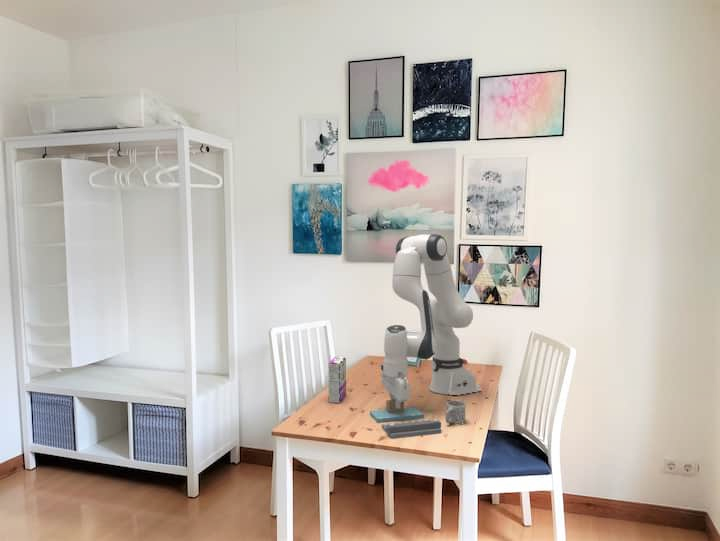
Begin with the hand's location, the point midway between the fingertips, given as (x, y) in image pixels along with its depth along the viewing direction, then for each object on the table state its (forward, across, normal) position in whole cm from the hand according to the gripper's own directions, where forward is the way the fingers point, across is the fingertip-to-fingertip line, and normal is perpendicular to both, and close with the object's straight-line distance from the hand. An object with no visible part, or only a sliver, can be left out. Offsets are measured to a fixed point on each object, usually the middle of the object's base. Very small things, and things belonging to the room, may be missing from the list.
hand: (395, 406), depth 200 cm
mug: (+4, -13, -17) cm, 22 cm away
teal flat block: (+3, -2, 0) cm, 4 cm away
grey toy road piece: (+3, -16, 0) cm, 16 cm away
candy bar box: (+4, +24, +16) cm, 29 cm away
